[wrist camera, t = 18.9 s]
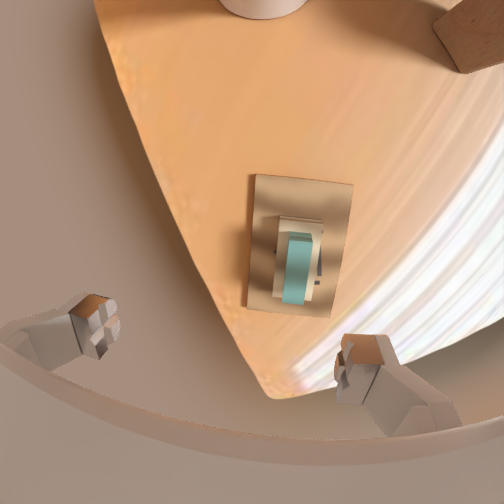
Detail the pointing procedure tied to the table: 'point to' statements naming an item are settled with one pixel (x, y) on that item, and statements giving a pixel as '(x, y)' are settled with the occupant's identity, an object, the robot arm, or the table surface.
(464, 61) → the wooden block
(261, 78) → the table surface
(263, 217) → the wooden board
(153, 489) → the robot arm
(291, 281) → the block
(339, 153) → the table surface
